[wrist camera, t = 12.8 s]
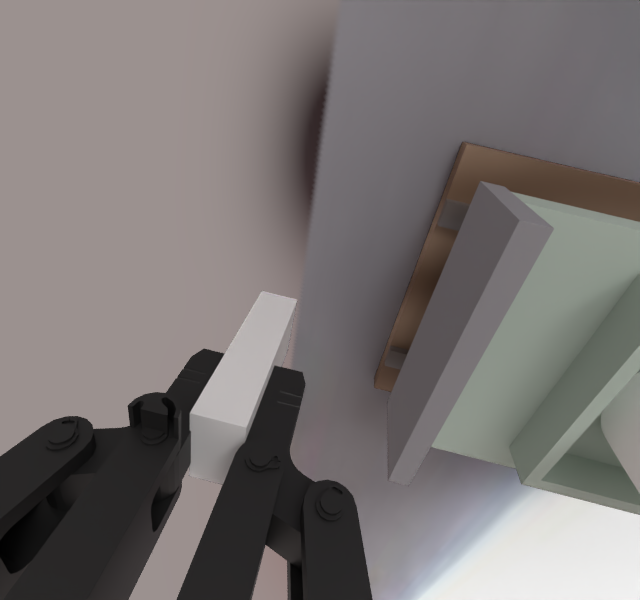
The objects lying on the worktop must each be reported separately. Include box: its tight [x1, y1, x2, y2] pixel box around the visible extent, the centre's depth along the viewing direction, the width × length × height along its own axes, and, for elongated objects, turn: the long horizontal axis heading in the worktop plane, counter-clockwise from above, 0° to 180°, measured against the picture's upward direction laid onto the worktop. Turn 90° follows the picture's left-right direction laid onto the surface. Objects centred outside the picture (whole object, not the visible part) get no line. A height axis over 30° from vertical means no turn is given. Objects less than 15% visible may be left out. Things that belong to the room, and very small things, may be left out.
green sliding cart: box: [387, 181, 640, 515], centre depth 16 cm, size 13×18×6 cm
